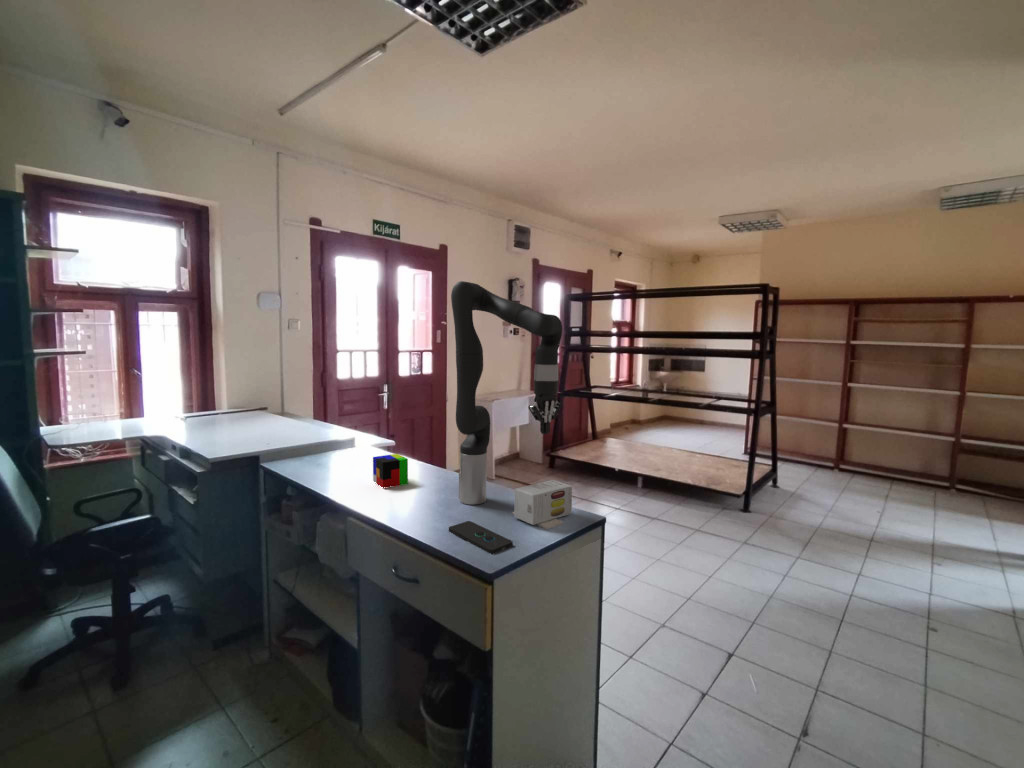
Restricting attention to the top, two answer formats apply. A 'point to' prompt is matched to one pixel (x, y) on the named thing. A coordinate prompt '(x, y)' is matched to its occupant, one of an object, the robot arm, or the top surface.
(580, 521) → the top surface
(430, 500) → the top surface
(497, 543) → the smart home device
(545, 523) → the plain beige rectangular board
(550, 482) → the supplement box
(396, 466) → the puzzle toy
